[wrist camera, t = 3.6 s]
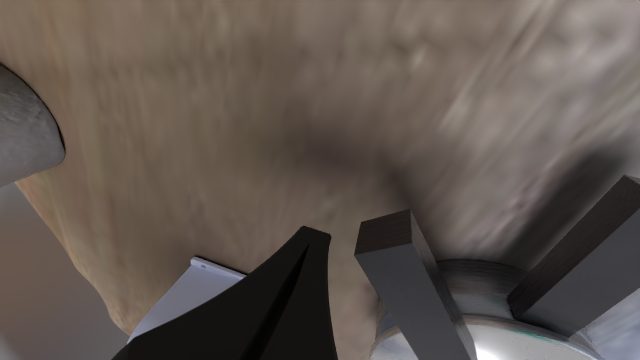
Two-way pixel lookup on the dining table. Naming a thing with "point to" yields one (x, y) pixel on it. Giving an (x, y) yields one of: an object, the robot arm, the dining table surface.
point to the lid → (440, 306)
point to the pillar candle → (25, 132)
